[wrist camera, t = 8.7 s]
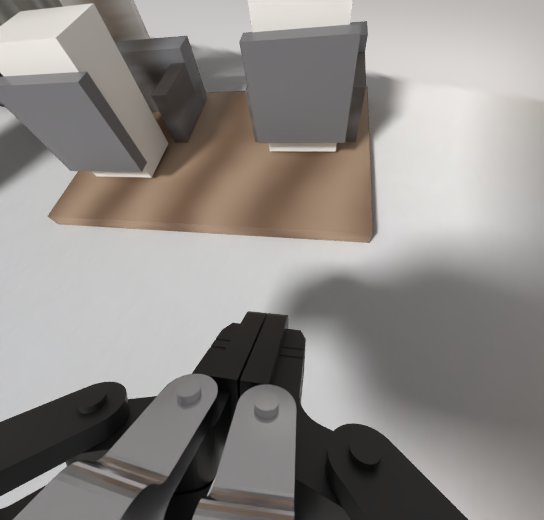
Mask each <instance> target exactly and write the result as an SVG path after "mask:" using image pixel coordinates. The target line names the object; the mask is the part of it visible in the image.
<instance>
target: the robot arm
mask: <svg viewBox="0 0 544 520" xmlns="http://www.w3.org/2000/svg"><path fill="white" fill-rule="evenodd" d="M305 342H306V339H305V337H304V336H303V334H302V332H301V330H292V329H288V315H280V314H270V313H268V314H267V313H260V312H250V311H248V312H247V314H246V315H245V317H244V319H243V320H242V322H241V324H238V323H232V324H230V325H229V326H227V327H226V328H224V329H223V330H222V331H221V332H220V334H219V335H218V337H217V338H216V340H215V341H214V342H213V344H212V345H211V348H209V350H208V351H207V353H206V354H205V355H204V357H203V358H202V360H201V361H200V363H199V364H198V366H197V367H196V369H195V370H194V371H193V373H192V374H189V375H185V376H182V377H179V378H177V379H175V380H173V381H172V382H170V383H169V384H168V385H167V386H166V387H165V388H164V389H163V390H162V391H161V392H160V394H159V395H158V396H154V397H145V398H136V399H128V398H127V393H126V389H125V387H124V386H123V385H122V384H119V383H116V382H103V383H98V384H94V385H91V386H88V387H86V388H83V389H81V390H78V391H76V392H73V393H71V394H69V395H66V396H64V397H61V398H59V399H56V400H54V401H51V402H49V403H46V404H44V405H41V406H39V407H36V408H34V409H31V410H29V411H27V412H24V413H22V414H19V415H17V416H14V417H12V418H9V419H7V420H4V421H2V422H0V496H2V495H4V494H5V493H7V492H9V491H11V490H13V489H15V488H17V487H19V486H20V485H22V484H24V483H26V482H28V481H30V480H32V479H34V478H35V477H37V476H39V475H41V474H43V473H45V472H47V471H49V470H51V469H52V468H54V467H56V466H58V465H60V464H62V463H64V462H66V464H67V467H66V468H65V469H64V470H62V471H61V472H60V473H59V474H58V475H57V476H56V477H54V478H53V479H52V480H51V481H50V482H49V483H48V484H47V485H46V486H44V487H42V488H40V489H39V490H37V491H35V492H33V493H32V494H30V495H28V496H26V497H24V498H23V499H21V500H19V501H17V502H15V503H14V504H12V505H10V506H8V507H5V508H3V509H0V520H468V519H467V518H466V517H465V516H464V515H463V514H462V513H461V512H460V511H459V510H458V509H457V508H456V507H455V506H454V505H453V504H452V503H451V502H450V501H449V500H448V499H447V498H446V497H445V496H444V495H443V494H442V493H441V492H440V491H439V490H438V489H437V488H436V487H435V486H434V485H433V484H432V483H431V482H430V481H429V480H428V479H427V478H426V477H425V476H424V475H423V474H422V473H421V472H420V471H419V470H418V469H417V468H416V467H415V466H414V465H413V464H412V463H411V462H410V461H409V460H408V459H407V458H406V457H405V456H404V455H403V454H402V453H401V452H400V451H399V450H398V449H397V448H396V447H395V446H394V445H393V444H392V443H391V442H390V441H389V440H388V439H387V438H386V437H385V436H384V435H382V434H381V433H380V432H378V431H376V430H375V429H373V428H370V427H368V426H365V425H361V424H345V425H342V426H340V427H338V428H337V429H335V430H334V431H332V430H330V429H328V428H326V427H323V426H321V425H320V424H318V423H316V422H315V421H313V420H312V419H311V418H310V417H309V416H308V415H307V414H306V413H305V411H304V410H303V408H302V406H301V396H302V386H303V376H304V359H305Z"/></svg>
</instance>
